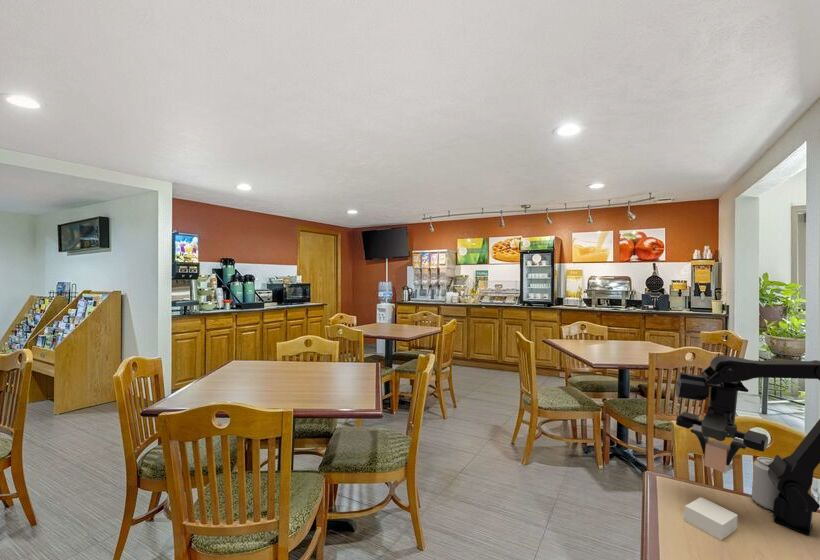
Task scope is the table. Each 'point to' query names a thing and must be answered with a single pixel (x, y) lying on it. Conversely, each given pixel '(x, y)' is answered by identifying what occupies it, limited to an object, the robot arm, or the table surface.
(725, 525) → the white rectangular box
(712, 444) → the block
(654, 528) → the table surface
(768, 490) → the can
